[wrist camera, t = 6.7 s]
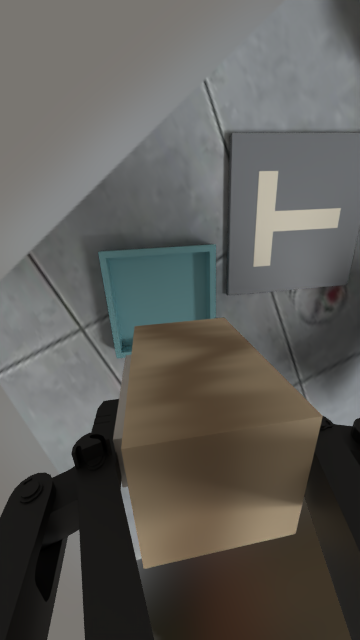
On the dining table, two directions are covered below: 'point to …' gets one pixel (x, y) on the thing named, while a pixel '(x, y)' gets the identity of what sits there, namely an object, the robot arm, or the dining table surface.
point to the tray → (157, 288)
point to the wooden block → (211, 442)
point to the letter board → (292, 210)
